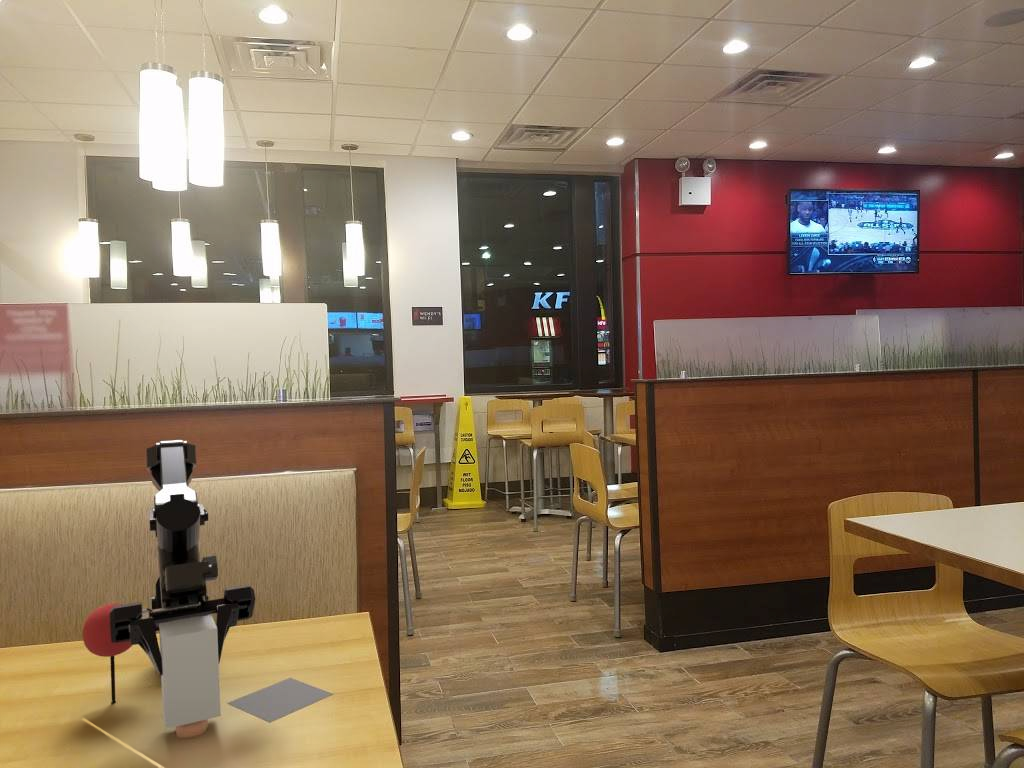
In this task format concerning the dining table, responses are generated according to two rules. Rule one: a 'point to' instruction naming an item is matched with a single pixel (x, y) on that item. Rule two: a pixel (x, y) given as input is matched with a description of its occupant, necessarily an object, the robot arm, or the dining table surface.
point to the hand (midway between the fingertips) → (190, 668)
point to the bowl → (191, 729)
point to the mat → (279, 699)
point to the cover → (189, 670)
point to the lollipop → (103, 638)
